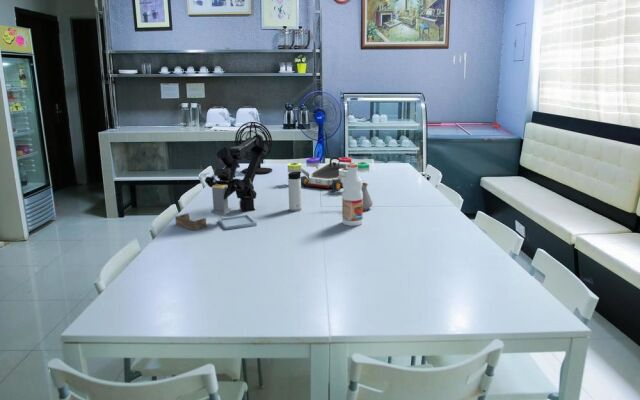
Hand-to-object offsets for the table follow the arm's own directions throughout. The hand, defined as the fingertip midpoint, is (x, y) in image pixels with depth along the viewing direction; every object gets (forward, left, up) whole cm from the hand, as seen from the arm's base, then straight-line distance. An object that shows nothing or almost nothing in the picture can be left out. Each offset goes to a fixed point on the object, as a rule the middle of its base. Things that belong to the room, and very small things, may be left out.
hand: (218, 198), depth 239 cm
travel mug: (-40, -7, -13) cm, 43 cm away
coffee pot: (-67, +3, -13) cm, 69 cm away
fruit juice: (-56, +26, -13) cm, 63 cm away
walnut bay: (+13, -4, -12) cm, 18 cm away
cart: (-83, -52, -13) cm, 99 cm away
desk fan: (-50, -108, -13) cm, 119 cm away
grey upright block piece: (-1, -1, -7) cm, 7 cm away
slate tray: (-7, +2, -12) cm, 15 cm away
